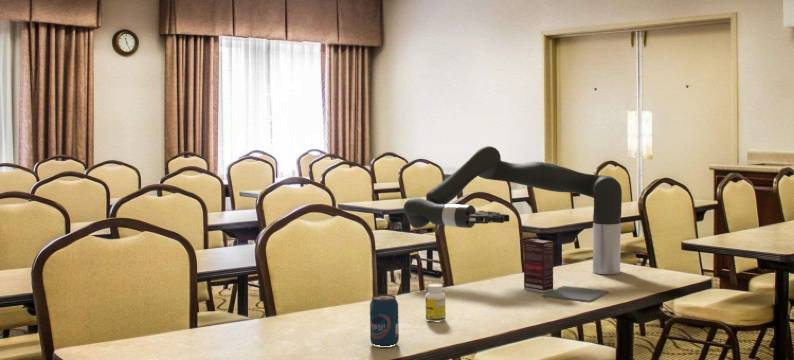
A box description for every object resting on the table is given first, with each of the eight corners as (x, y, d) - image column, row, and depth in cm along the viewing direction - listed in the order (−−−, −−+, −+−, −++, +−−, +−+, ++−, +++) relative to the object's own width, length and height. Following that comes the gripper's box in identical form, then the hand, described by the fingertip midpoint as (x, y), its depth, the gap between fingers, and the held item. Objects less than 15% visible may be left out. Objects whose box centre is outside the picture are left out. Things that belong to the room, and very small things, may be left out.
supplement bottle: (422, 319, 247) (422, 284, 246) (440, 317, 249) (439, 282, 248) (430, 323, 242) (430, 287, 241) (449, 321, 244) (448, 285, 243)
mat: (563, 287, 287) (563, 285, 287) (608, 292, 279) (608, 290, 279) (542, 296, 274) (542, 295, 274) (589, 302, 266) (589, 300, 265)
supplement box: (554, 291, 281) (554, 241, 280) (543, 293, 278) (543, 242, 277) (533, 287, 288) (533, 238, 287) (523, 289, 285) (522, 239, 284)
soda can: (366, 347, 219) (365, 299, 218) (376, 340, 226) (376, 293, 225) (392, 349, 217) (392, 300, 216) (402, 342, 223) (402, 294, 222)
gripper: (448, 206, 290) (496, 209, 281) (469, 202, 302) (516, 204, 293) (448, 229, 291) (496, 233, 282) (469, 224, 303) (516, 227, 293)
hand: (506, 218), depth 287 cm, fingers open, 3 cm apart
